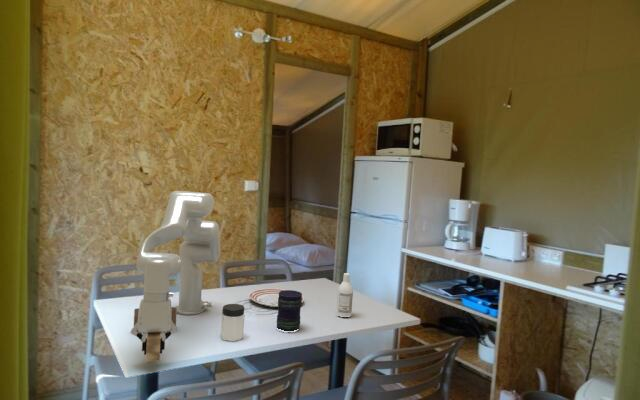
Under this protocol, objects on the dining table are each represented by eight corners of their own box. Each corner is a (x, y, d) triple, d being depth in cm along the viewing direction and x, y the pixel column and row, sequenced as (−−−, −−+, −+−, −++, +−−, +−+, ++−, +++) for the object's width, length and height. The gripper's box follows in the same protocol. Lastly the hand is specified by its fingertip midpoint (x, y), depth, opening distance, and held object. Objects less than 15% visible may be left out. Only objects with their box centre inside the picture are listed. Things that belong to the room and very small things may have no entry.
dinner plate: (314, 302, 223) (314, 296, 223) (281, 315, 200) (281, 308, 200) (271, 291, 238) (272, 285, 238) (236, 302, 215) (237, 295, 215)
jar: (234, 331, 175) (236, 302, 175) (247, 337, 170) (249, 307, 169) (215, 337, 168) (217, 306, 168) (229, 343, 163) (231, 311, 162)
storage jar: (290, 335, 176) (293, 298, 175) (271, 328, 181) (273, 293, 180) (304, 328, 184) (306, 293, 184) (285, 322, 190) (287, 288, 189)
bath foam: (353, 318, 202) (356, 275, 201) (339, 319, 200) (342, 275, 198) (347, 313, 209) (350, 271, 207) (333, 314, 206) (337, 272, 205)
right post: (175, 329, 173) (176, 307, 172) (175, 331, 171) (176, 309, 170) (168, 329, 172) (169, 307, 172) (168, 332, 170) (169, 309, 169)
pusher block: (159, 348, 147) (160, 327, 146) (159, 360, 137) (160, 338, 137) (146, 348, 145) (148, 328, 145) (145, 361, 136) (146, 339, 136)
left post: (140, 331, 169) (142, 308, 168) (140, 333, 166) (141, 310, 166) (133, 331, 168) (134, 308, 167) (133, 334, 165) (134, 310, 165)
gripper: (183, 292, 147) (180, 346, 148) (128, 293, 141) (125, 349, 142) (183, 299, 140) (180, 355, 141) (126, 300, 134) (123, 359, 135)
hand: (153, 351), depth 141 cm, fingers closed on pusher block, 4 cm apart
